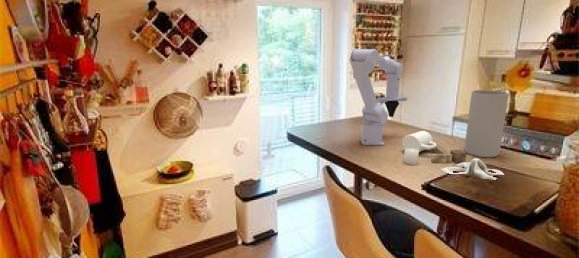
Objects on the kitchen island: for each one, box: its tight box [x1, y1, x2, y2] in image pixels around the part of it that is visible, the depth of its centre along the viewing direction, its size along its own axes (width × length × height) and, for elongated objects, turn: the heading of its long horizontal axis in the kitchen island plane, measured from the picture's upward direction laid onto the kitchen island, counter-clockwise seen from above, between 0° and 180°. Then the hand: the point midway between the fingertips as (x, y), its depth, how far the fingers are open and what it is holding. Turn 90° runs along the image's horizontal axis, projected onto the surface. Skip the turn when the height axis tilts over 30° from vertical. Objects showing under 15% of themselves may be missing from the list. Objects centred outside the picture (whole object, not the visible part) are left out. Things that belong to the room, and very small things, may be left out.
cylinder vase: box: [463, 89, 510, 158], centre depth 131 cm, size 12×12×25 cm
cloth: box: [439, 158, 505, 180], centre depth 112 cm, size 22×19×6 cm
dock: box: [429, 140, 452, 164], centre depth 135 cm, size 7×23×3 cm, turn 178°
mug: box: [401, 130, 438, 153], centre depth 135 cm, size 12×10×8 cm
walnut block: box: [449, 149, 468, 164], centre depth 125 cm, size 4×4×4 cm
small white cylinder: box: [403, 148, 420, 166], centre depth 124 cm, size 5×5×5 cm
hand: (390, 116), depth 156 cm, fingers closed
